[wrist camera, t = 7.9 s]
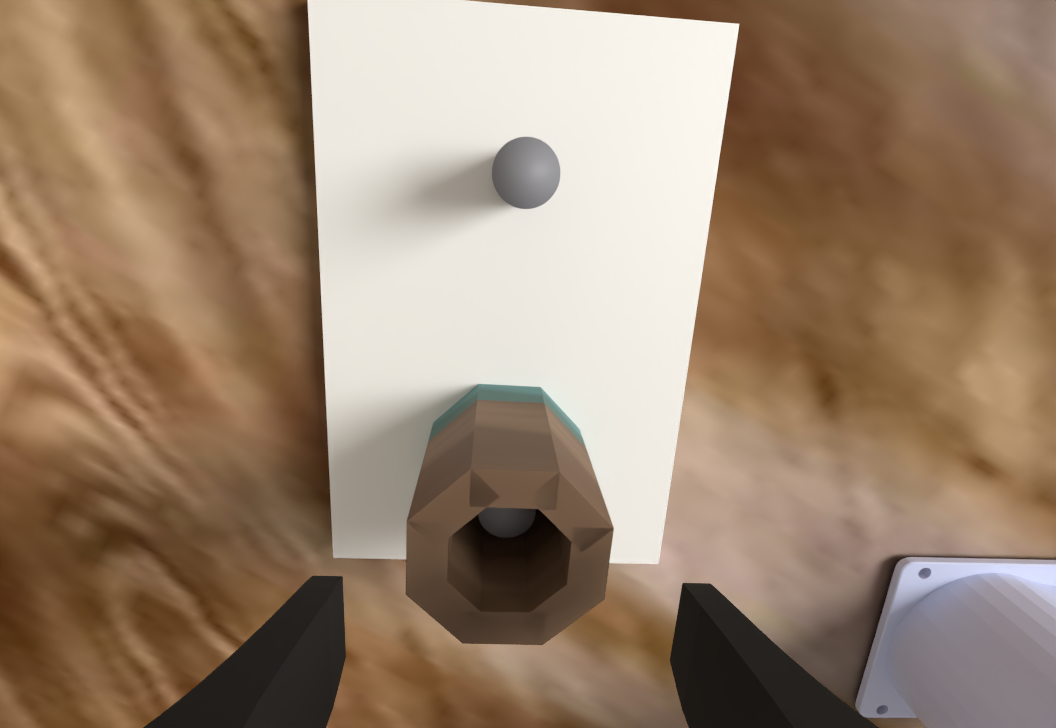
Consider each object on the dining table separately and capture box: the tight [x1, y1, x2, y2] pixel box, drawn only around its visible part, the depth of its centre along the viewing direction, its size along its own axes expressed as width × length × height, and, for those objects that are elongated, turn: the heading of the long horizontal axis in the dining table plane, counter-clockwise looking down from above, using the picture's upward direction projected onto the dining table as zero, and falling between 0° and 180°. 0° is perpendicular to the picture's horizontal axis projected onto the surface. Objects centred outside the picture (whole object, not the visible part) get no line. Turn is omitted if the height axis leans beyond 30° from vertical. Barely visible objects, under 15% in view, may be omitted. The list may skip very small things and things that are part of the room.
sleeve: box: [406, 384, 614, 645], centre depth 17 cm, size 5×5×6 cm
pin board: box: [308, 0, 739, 564], centre depth 17 cm, size 12×18×5 cm, turn 176°
